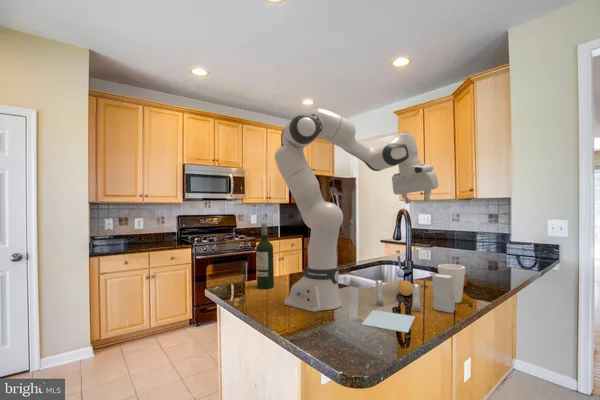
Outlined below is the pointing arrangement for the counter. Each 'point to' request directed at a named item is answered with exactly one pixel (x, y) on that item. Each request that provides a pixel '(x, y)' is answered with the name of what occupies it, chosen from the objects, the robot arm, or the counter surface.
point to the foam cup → (454, 278)
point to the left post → (379, 292)
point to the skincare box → (443, 293)
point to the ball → (405, 288)
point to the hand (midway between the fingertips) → (417, 202)
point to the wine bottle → (265, 261)
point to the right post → (416, 297)
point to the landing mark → (389, 321)
